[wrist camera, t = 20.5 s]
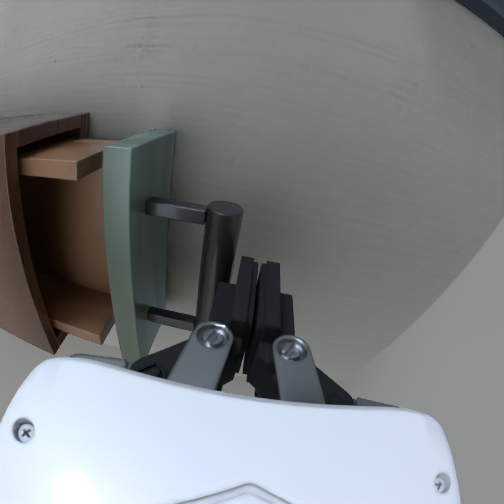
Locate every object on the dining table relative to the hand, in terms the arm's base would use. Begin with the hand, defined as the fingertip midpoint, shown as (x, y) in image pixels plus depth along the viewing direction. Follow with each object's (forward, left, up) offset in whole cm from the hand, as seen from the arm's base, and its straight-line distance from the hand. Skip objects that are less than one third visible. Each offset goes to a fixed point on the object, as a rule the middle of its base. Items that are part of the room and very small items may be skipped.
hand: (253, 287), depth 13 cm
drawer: (+7, +6, -3) cm, 10 cm away
